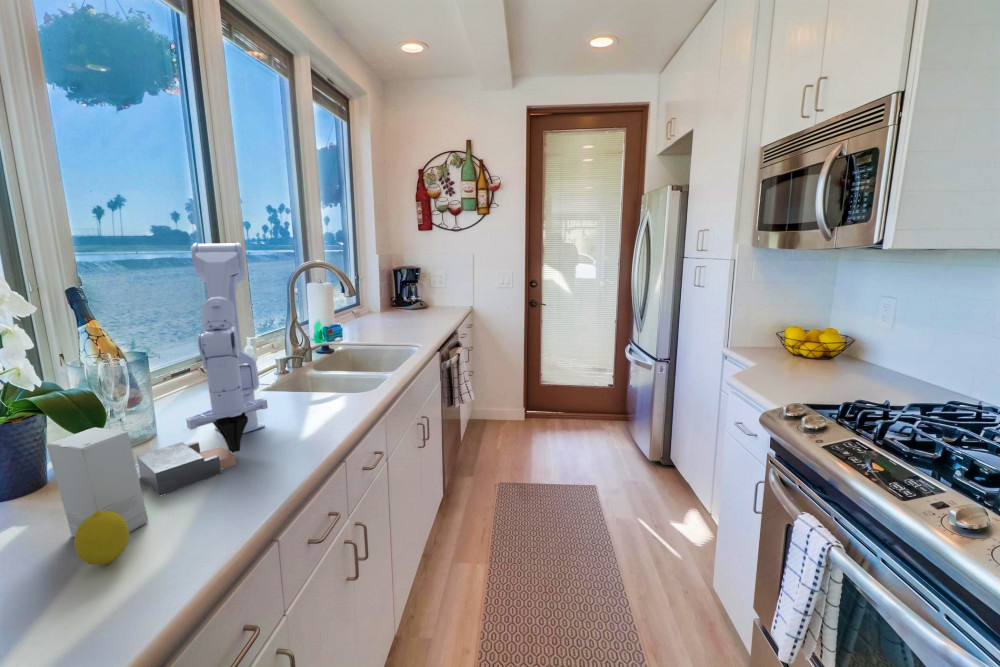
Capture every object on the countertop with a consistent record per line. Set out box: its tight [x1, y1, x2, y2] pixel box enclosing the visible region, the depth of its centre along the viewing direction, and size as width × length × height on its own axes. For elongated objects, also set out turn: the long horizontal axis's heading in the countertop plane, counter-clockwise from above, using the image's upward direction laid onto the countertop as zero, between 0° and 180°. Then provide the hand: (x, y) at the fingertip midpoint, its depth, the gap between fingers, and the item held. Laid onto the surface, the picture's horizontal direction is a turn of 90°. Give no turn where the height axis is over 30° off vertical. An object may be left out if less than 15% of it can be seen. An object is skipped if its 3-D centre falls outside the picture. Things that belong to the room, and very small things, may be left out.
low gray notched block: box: [136, 441, 222, 497], centre depth 87 cm, size 11×10×4 cm
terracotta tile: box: [198, 445, 237, 470], centre depth 89 cm, size 7×12×2 cm, turn 142°
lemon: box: [74, 511, 130, 566], centre depth 62 cm, size 6×6×8 cm
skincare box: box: [46, 426, 149, 538], centre depth 69 cm, size 8×7×16 cm
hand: (234, 450), depth 94 cm, fingers closed
